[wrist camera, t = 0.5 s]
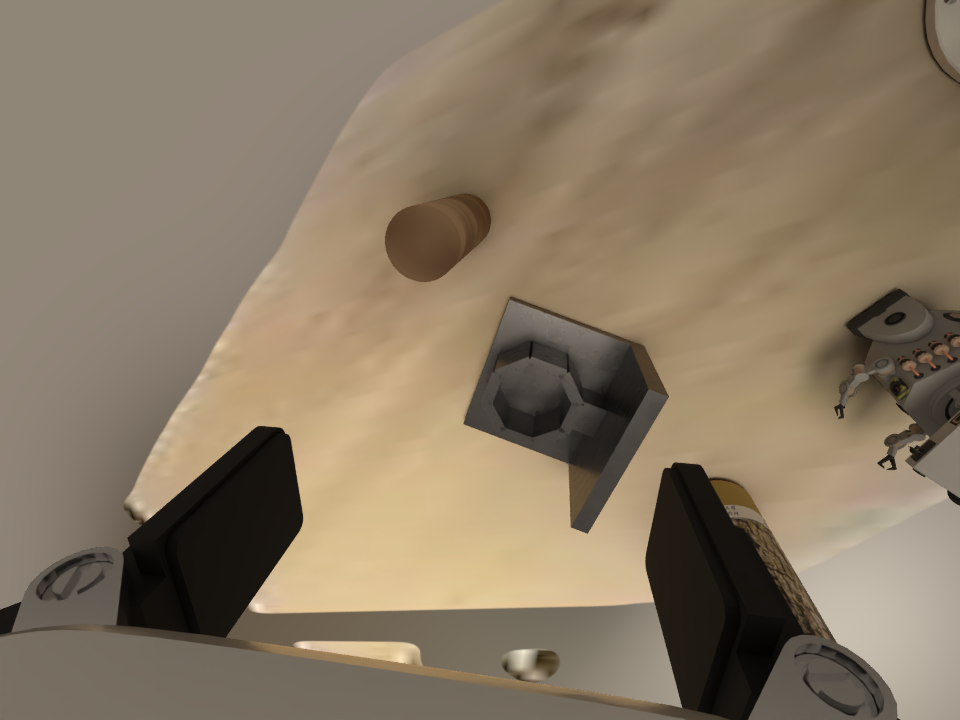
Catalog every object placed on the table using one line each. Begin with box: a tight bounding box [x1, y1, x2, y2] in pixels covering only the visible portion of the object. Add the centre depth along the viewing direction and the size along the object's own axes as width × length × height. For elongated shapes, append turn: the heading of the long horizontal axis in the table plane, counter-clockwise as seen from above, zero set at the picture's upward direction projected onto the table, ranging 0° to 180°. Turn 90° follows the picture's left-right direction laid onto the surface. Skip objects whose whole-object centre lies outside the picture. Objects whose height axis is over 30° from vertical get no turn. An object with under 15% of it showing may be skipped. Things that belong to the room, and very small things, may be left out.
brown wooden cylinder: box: [385, 194, 491, 282], centre depth 33 cm, size 4×4×14 cm
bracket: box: [463, 297, 669, 534], centre depth 39 cm, size 13×14×10 cm
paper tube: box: [710, 480, 837, 643], centre depth 35 cm, size 7×7×25 cm
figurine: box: [834, 289, 960, 505], centre depth 31 cm, size 9×12×15 cm
